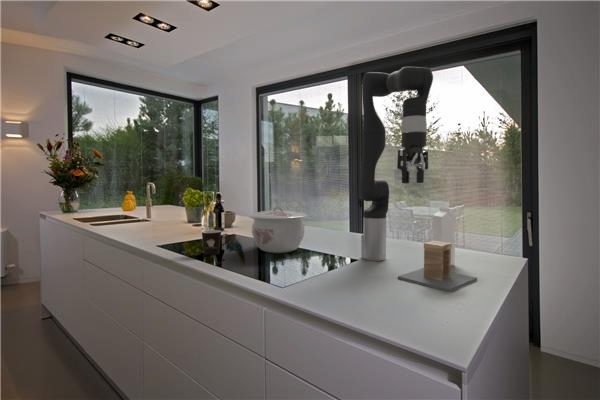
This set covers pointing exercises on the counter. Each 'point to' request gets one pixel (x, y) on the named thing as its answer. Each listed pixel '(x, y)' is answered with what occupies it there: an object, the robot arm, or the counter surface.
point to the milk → (444, 229)
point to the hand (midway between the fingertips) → (412, 183)
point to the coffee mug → (212, 241)
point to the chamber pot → (278, 230)
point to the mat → (446, 284)
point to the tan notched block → (437, 260)
